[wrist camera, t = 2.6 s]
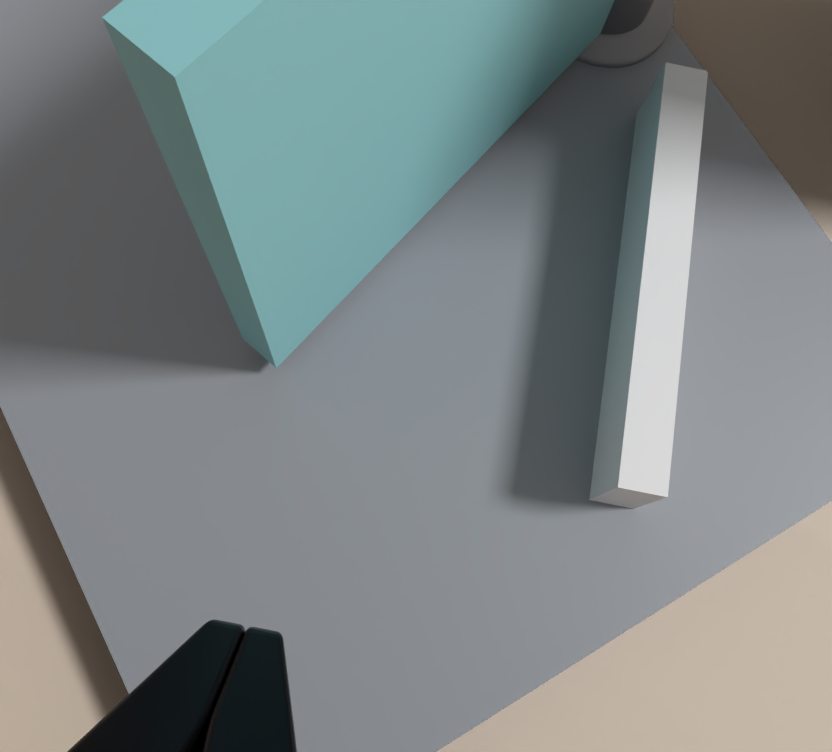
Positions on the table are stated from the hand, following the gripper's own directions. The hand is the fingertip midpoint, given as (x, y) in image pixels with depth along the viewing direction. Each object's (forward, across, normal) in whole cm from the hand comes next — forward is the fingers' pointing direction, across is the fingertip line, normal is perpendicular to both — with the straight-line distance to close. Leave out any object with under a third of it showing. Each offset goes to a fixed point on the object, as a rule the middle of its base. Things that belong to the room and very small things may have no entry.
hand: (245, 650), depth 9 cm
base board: (+14, +1, -1) cm, 14 cm away
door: (+13, -1, -3) cm, 14 cm away
